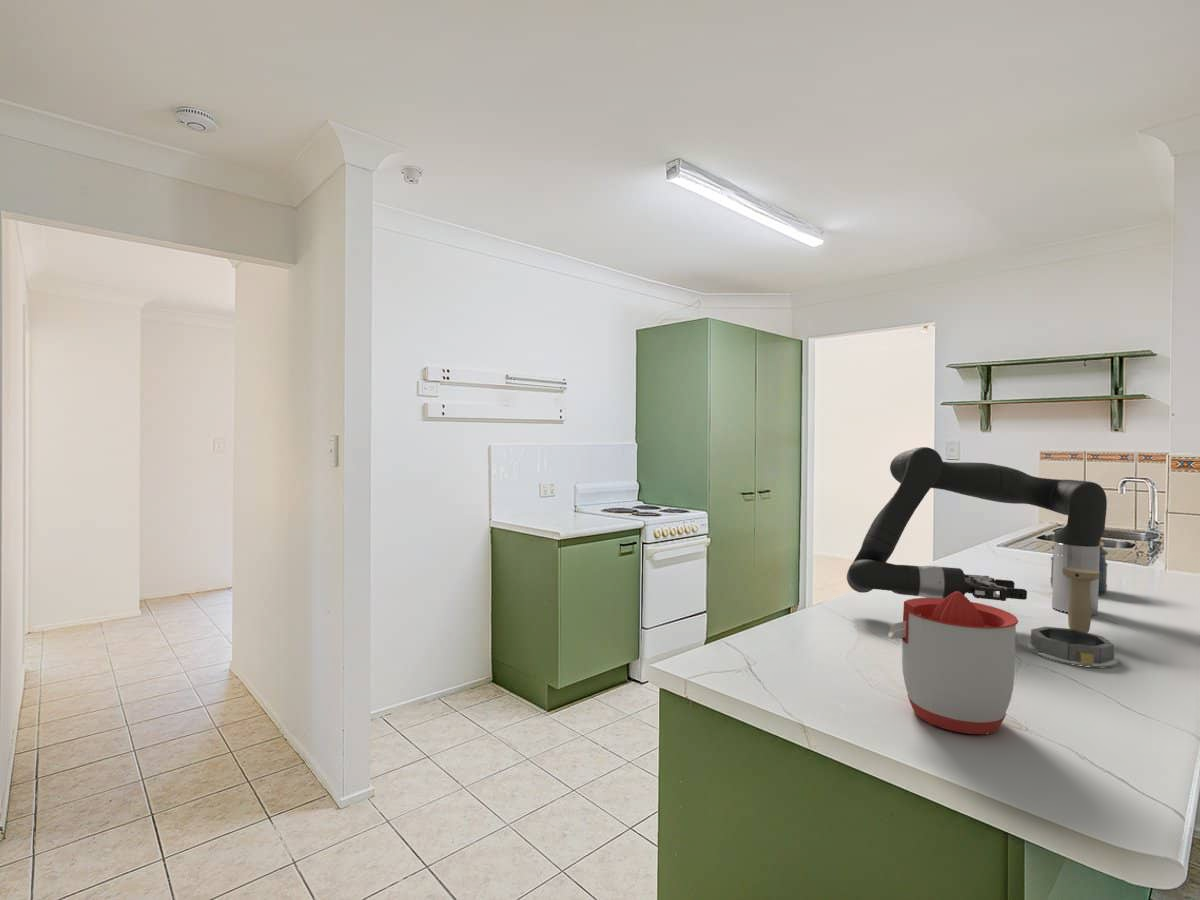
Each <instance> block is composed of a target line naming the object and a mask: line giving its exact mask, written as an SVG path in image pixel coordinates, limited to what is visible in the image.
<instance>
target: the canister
mask: <svg viewBox="0 0 1200 900" xmlns="http://www.w3.org/2000/svg"><path fill="white" fill-rule="evenodd" d="M1104 546H1105V543H1104V542H1103V541H1101V540H1100V555H1099V572H1100V576H1099V590H1098V594H1103V595H1105V594H1106V593H1107V590H1108V584H1107V576H1108V575H1107V574H1108V566H1109V564H1108V563H1107V560H1106V556H1108V554H1109V552H1108V551H1107V550H1105V549H1104ZM1050 548H1051V549H1052V551H1053V552H1052V553H1053V554H1052V557H1051V558H1050V560H1051V569H1050V581H1049V583H1050V585H1051V587H1052V586H1053V560H1054V545H1052V546H1051V547H1050ZM1104 593H1105V594H1104Z"/></svg>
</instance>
